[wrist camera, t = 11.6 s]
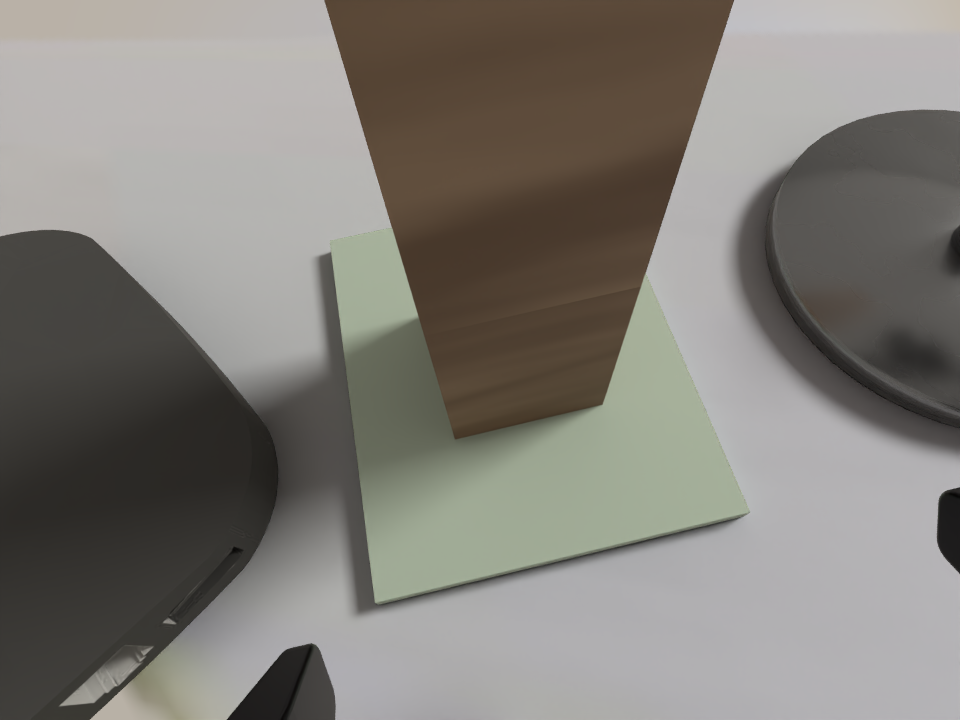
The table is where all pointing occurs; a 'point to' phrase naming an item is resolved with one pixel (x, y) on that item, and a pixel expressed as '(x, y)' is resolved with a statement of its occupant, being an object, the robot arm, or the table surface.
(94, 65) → the table surface
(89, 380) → the media streaming box
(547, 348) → the walnut block
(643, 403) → the rubber mat
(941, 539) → the robot arm
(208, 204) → the table surface
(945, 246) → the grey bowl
